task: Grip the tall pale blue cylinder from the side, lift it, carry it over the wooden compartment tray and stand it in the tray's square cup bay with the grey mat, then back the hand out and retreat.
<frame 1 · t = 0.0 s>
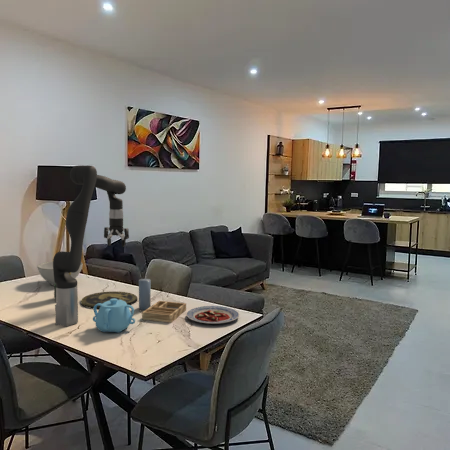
hand: (116, 246, 229), 29 cm above the table, tool pointing down, fingers open, 8 cm apart
decorative pot: (113, 329, 183), on the table
coffee jar: (63, 299, 226), on the table
pale blue cylinder: (144, 308, 213), on the table
ceramic plate: (212, 318, 200), on the table
decorative bowl: (60, 283, 260), on the table
wooden compartment tray: (165, 314, 204), on the table
decorative plate: (109, 301, 225), on the table
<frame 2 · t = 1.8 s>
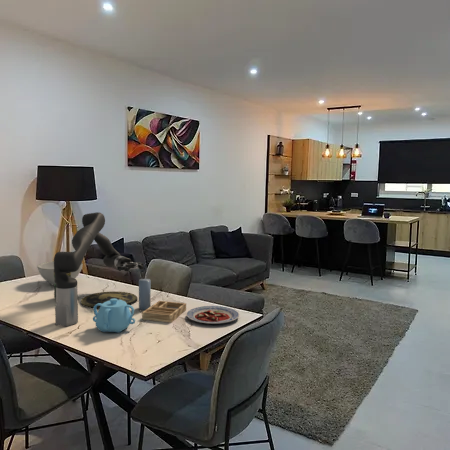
hand: (135, 268, 220), 19 cm above the table, tool horizontal, fingers open, 8 cm apart
nothing on the table moved.
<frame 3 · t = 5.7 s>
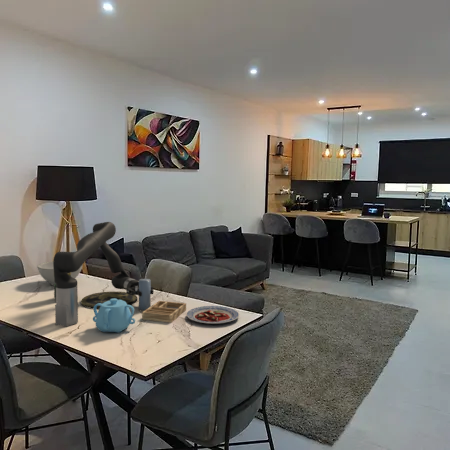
hand: (146, 293, 210), 9 cm above the table, tool horizontal, fingers closed on pale blue cylinder, 6 cm apart
pale blue cylinder: (144, 308, 213), on the table, touching gripper
everything else where it was.
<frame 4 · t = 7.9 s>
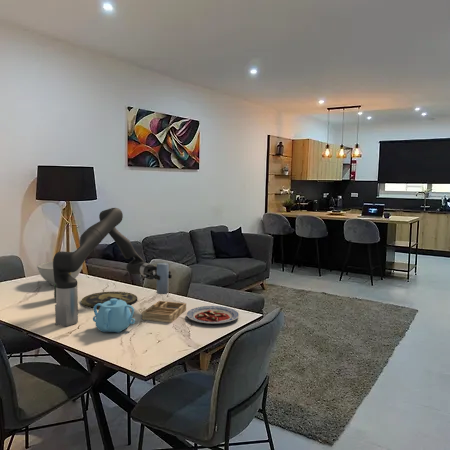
hand: (165, 277, 206), 18 cm above the table, tool horizontal, fingers closed on pale blue cylinder, 6 cm apart
pale blue cylinder: (162, 292, 209), point 9 cm above the table, touching gripper
everything else where it was.
when the fingers open (10 cm above the table, at t = 10.2 s): pale blue cylinder stays where it is, resting on wooden compartment tray.
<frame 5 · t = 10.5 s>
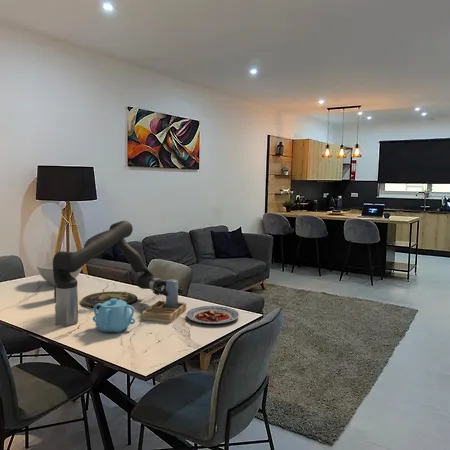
hand: (174, 292, 205), 10 cm above the table, tool horizontal, fingers open, 8 cm apart
pale blue cylinder: (172, 309, 207), point 1 cm above the table, touching wooden compartment tray
everything else where it was.
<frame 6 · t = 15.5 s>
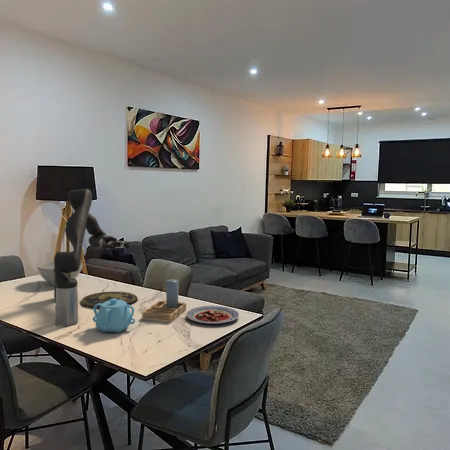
hand: (120, 246, 211), 32 cm above the table, tool horizontal, fingers open, 8 cm apart
nothing on the table moved.
at the end: pale blue cylinder 0.1 cm from the target spot on the wooden compartment tray, point 1.3 cm above the wooden compartment tray's base; pale blue cylinder tilted 1°; the gripper is holding nothing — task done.
